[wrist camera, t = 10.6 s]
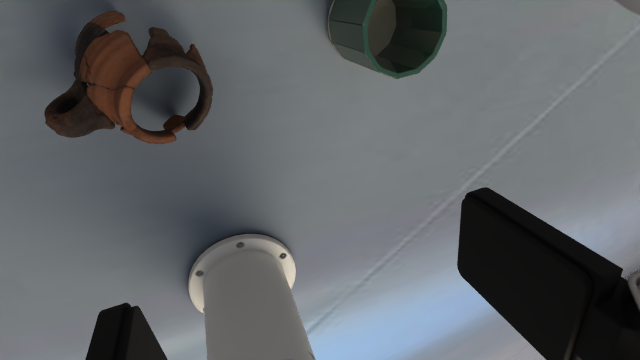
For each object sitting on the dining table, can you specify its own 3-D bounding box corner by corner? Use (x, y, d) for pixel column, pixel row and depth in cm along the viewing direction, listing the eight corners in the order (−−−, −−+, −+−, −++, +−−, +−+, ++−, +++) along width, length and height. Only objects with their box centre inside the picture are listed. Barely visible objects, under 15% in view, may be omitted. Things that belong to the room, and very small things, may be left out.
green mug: (378, 71, 37) (421, 88, 30) (316, 48, 34) (348, 61, 27) (420, -34, 33) (479, -41, 27) (355, -71, 30) (403, -90, 24)
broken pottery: (138, -22, 28) (191, 17, 24) (193, 71, 36) (239, 112, 32) (-12, 62, 25) (21, 123, 21) (85, 144, 33) (121, 199, 29)
